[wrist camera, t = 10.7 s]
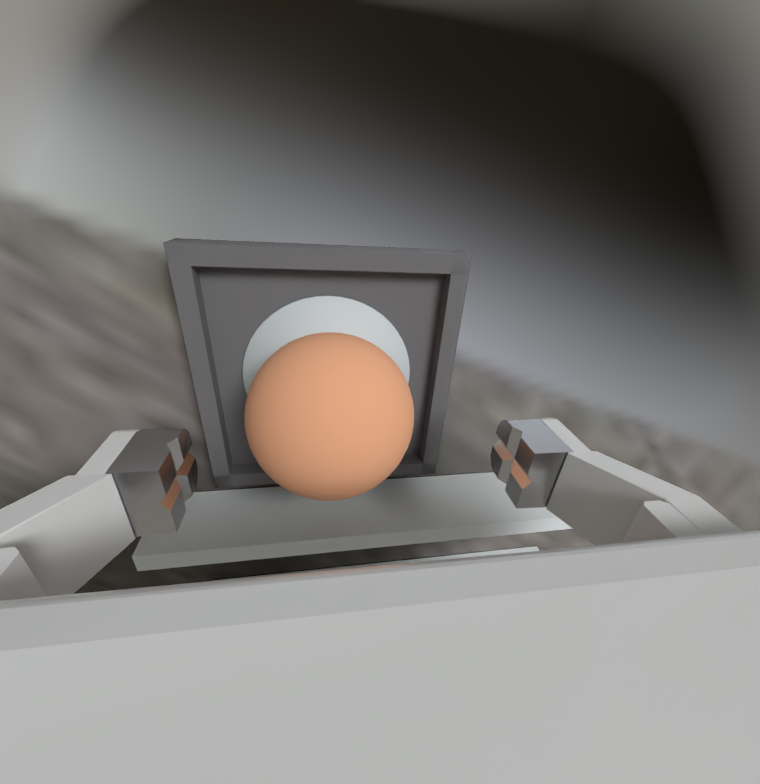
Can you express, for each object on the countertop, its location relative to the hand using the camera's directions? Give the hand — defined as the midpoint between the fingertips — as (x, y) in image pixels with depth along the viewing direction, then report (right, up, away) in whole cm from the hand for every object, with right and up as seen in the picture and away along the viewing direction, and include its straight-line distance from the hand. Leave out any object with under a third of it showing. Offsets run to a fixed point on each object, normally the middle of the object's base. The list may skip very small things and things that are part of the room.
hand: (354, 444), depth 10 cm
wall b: (0, -3, +7) cm, 8 cm away
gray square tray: (-1, +2, +4) cm, 5 cm away
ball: (-1, +2, +4) cm, 4 cm away
